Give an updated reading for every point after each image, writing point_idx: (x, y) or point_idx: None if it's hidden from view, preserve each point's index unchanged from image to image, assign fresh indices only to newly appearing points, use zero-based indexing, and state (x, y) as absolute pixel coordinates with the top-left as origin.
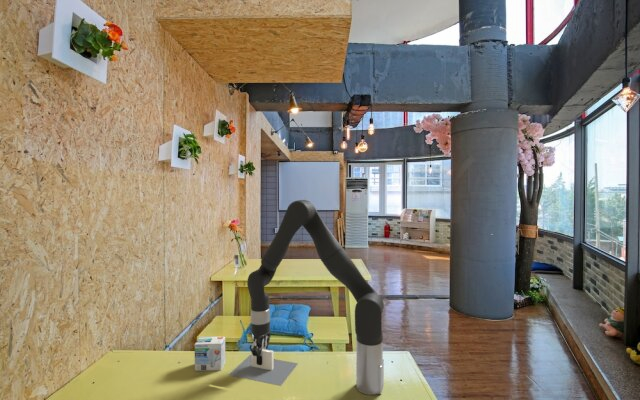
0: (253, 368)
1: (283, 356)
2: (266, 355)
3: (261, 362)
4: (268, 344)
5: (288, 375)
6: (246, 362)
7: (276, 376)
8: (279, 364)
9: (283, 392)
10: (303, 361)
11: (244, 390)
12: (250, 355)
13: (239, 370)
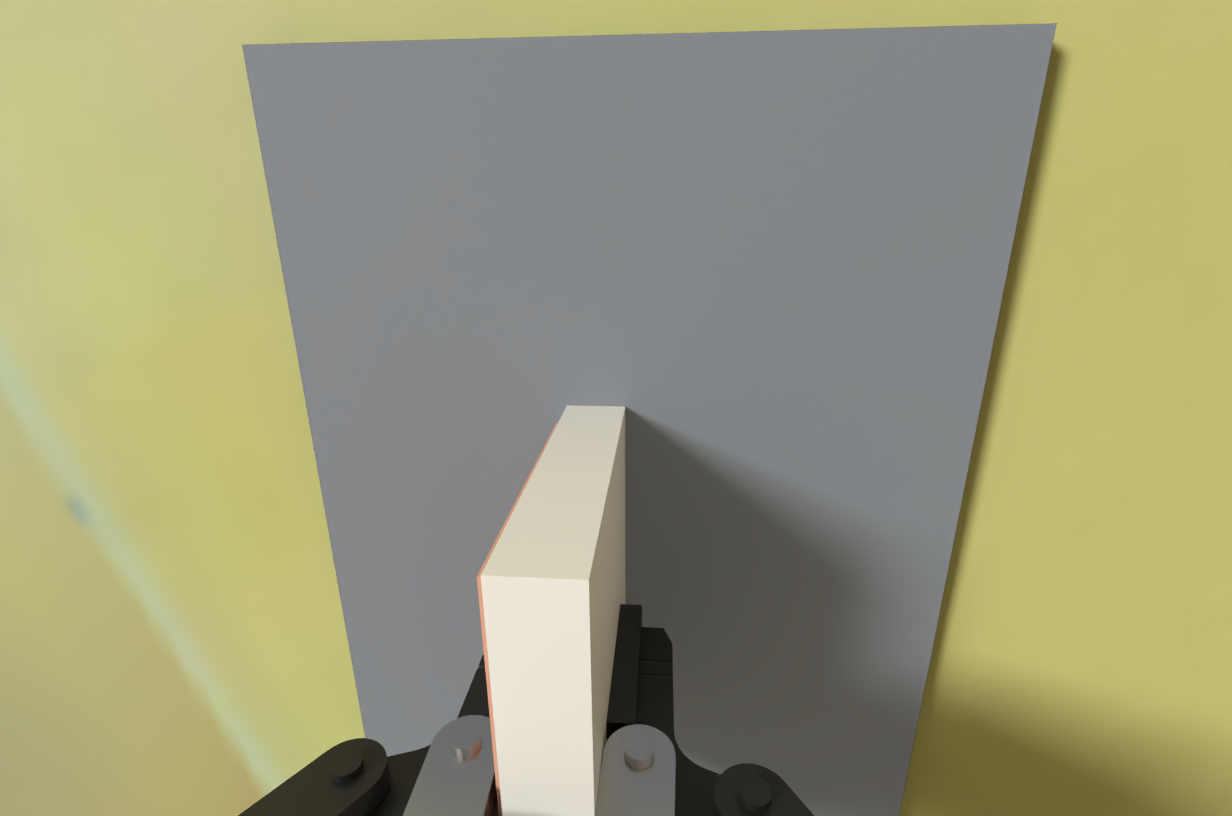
0: None
1: (170, 420)
2: (605, 646)
3: (640, 630)
4: (255, 808)
5: (690, 40)
6: None
7: (778, 251)
8: (425, 366)
9: None
10: (112, 3)
11: (1173, 550)
12: None
13: None
